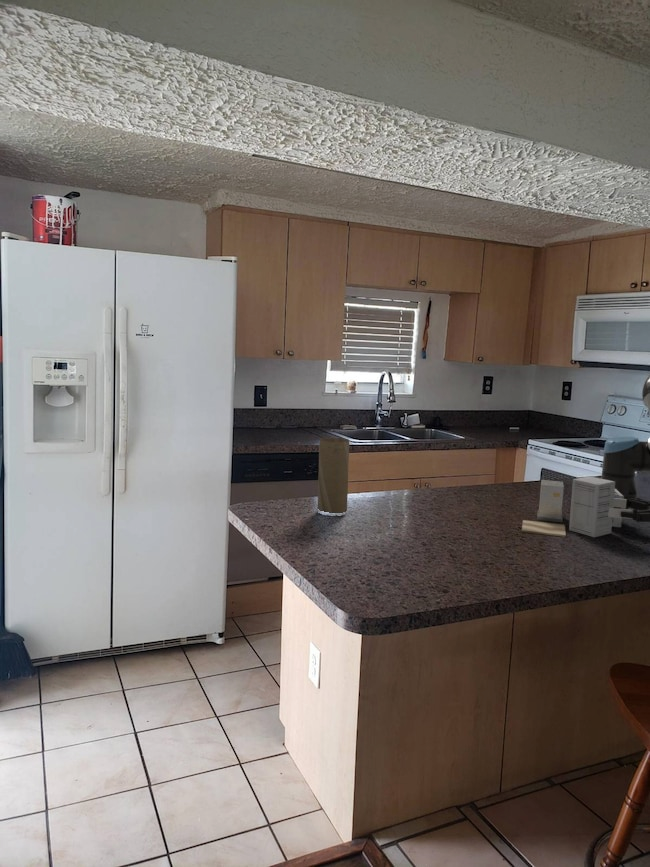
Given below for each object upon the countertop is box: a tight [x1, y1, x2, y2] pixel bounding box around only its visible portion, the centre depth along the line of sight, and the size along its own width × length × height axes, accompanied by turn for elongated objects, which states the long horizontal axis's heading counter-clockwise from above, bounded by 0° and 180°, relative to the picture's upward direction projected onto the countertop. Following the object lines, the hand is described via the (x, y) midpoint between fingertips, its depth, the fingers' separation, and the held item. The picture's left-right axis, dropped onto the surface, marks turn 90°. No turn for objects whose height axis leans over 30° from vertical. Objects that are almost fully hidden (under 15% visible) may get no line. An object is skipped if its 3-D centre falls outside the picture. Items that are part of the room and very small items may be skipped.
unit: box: [536, 479, 565, 523], centre depth 221 cm, size 9×8×12 cm
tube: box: [317, 436, 350, 513], centre depth 219 cm, size 10×10×25 cm
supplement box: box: [568, 475, 615, 538], centre depth 206 cm, size 10×9×17 cm
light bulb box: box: [612, 489, 624, 528], centre depth 218 cm, size 11×7×11 cm, turn 169°
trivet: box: [521, 519, 567, 538], centre depth 209 cm, size 12×13×1 cm
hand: (606, 506), depth 204 cm, fingers open, 13 cm apart
